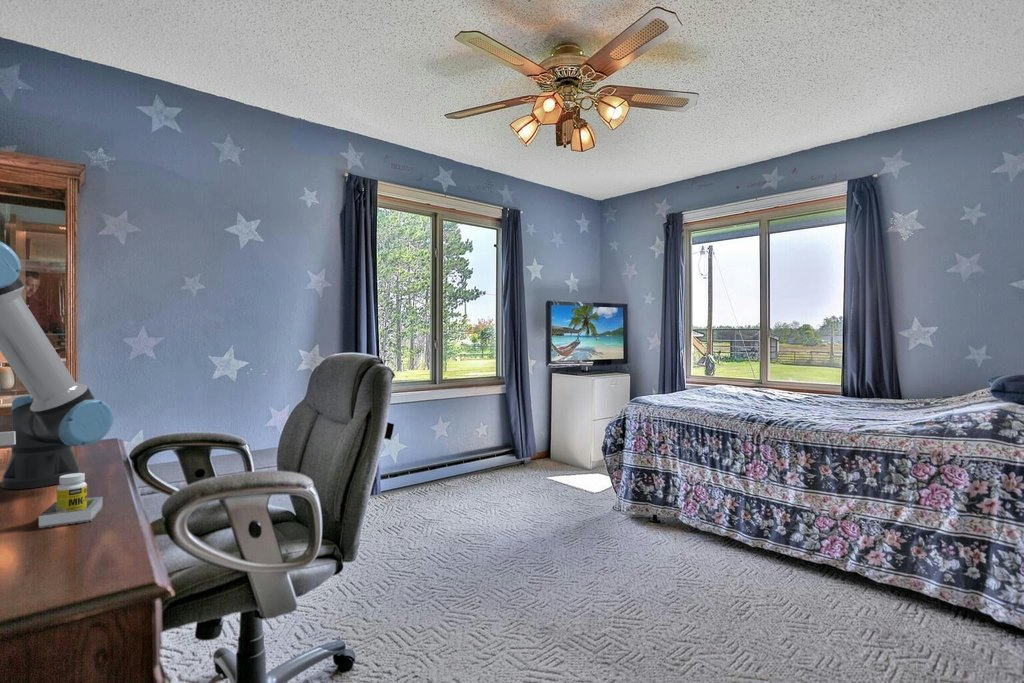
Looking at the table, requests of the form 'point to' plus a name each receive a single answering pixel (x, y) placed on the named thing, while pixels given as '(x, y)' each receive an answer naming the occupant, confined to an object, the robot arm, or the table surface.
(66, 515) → the rectangular metal tray
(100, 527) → the table surface
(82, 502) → the supplement bottle
